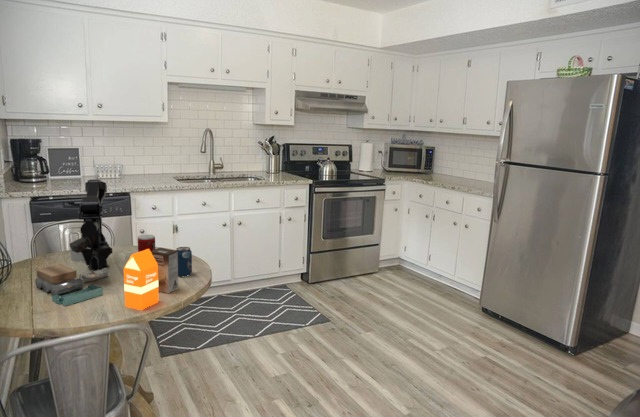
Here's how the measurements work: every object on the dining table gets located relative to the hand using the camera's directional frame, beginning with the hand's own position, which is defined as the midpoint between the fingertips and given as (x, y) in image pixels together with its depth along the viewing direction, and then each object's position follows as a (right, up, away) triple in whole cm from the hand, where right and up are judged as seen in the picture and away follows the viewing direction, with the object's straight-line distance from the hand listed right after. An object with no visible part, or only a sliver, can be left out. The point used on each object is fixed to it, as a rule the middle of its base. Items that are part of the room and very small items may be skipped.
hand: (94, 267), depth 181 cm
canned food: (+10, 0, +31) cm, 33 cm away
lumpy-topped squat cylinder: (-18, 0, +28) cm, 33 cm away
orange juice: (+29, -11, -22) cm, 38 cm away
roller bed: (-4, -8, -13) cm, 16 cm away
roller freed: (0, -5, +1) cm, 5 cm away
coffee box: (+32, -8, -7) cm, 33 cm away
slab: (-9, -3, -11) cm, 14 cm away
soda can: (+34, -5, +11) cm, 36 cm away
